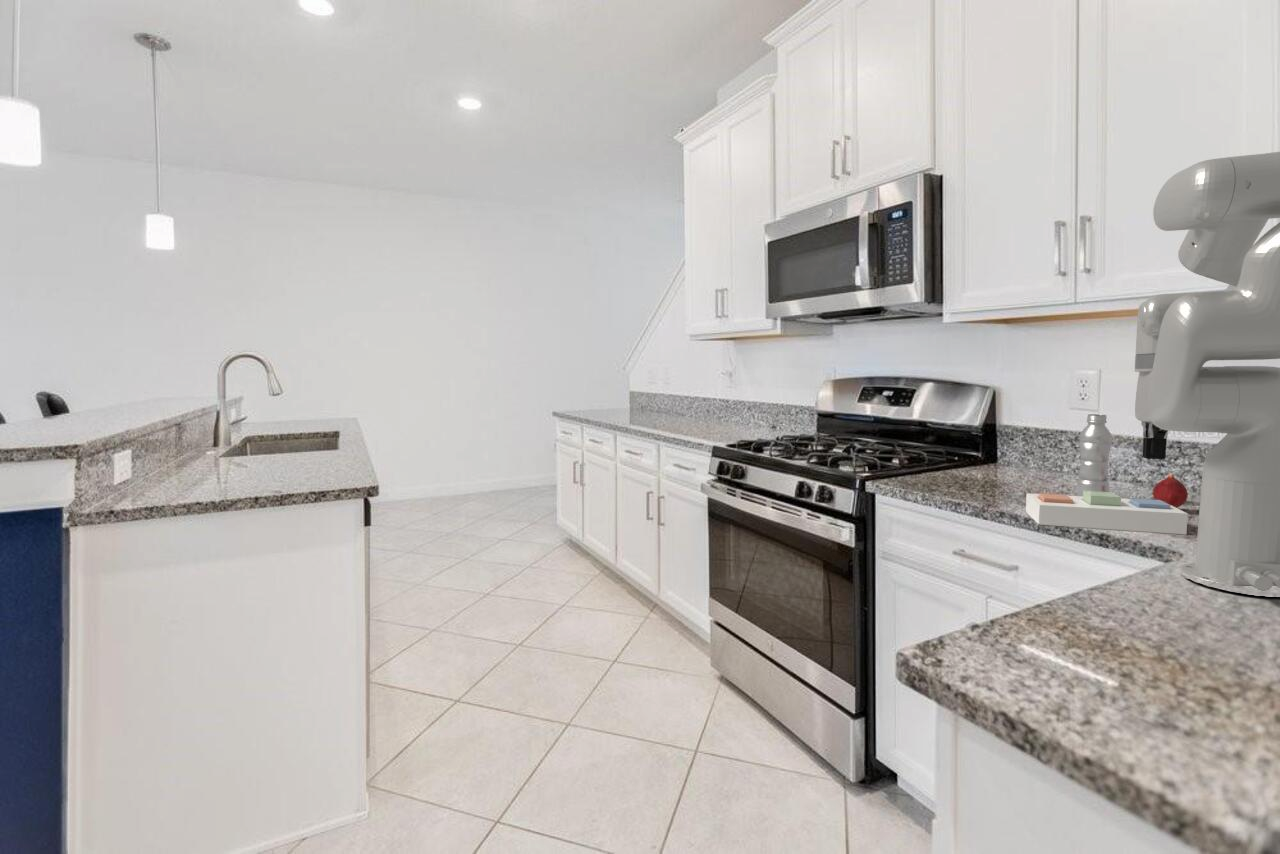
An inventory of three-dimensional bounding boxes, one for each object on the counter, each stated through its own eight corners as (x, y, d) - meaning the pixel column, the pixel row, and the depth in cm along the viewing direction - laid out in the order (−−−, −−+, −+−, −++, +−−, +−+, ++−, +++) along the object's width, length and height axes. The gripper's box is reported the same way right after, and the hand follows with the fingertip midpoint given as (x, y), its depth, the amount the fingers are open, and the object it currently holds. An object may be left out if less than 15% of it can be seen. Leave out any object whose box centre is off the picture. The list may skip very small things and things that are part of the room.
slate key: (1169, 521, 124) (1170, 505, 123) (1137, 519, 125) (1139, 503, 125) (1158, 515, 128) (1159, 499, 128) (1128, 513, 130) (1129, 498, 130)
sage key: (1119, 513, 126) (1121, 497, 126) (1090, 511, 128) (1091, 495, 128) (1111, 507, 131) (1112, 492, 131) (1082, 506, 133) (1083, 490, 132)
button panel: (1186, 534, 120) (1187, 513, 120) (1038, 524, 128) (1039, 504, 128) (1159, 519, 131) (1161, 500, 131) (1025, 511, 140) (1026, 493, 139)
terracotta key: (1072, 515, 129) (1073, 499, 129) (1043, 513, 131) (1044, 498, 131) (1065, 510, 134) (1066, 494, 134) (1037, 508, 136) (1038, 493, 135)
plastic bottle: (1081, 502, 148) (1086, 415, 146) (1071, 496, 155) (1075, 413, 153) (1113, 503, 146) (1119, 416, 144) (1102, 497, 153) (1107, 413, 151)
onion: (1192, 514, 136) (1195, 477, 135) (1161, 513, 137) (1164, 476, 136) (1175, 508, 141) (1178, 472, 140) (1146, 507, 142) (1148, 471, 142)
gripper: (1201, 363, 116) (1195, 464, 117) (1166, 364, 130) (1161, 455, 131) (1151, 363, 118) (1145, 462, 119) (1122, 365, 132) (1117, 453, 133)
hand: (1153, 458), depth 125 cm, fingers closed
